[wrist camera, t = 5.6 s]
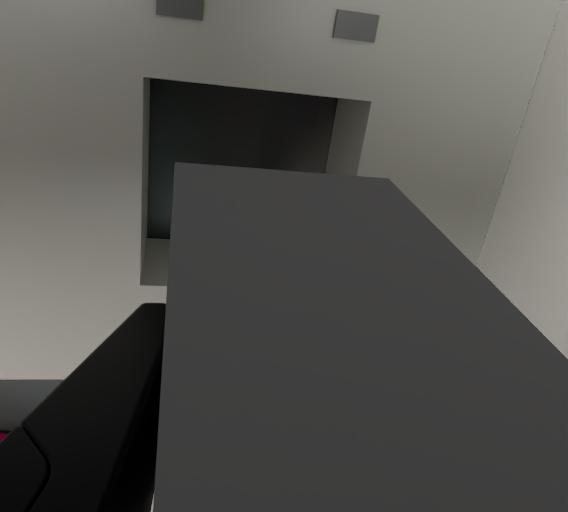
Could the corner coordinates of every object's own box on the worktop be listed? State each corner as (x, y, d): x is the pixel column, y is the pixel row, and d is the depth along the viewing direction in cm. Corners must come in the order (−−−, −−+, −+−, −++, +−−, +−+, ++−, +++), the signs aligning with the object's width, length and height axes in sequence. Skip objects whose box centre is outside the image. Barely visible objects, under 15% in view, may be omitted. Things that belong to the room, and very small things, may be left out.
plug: (350, 349, 12) (620, 968, 5) (166, 347, 11) (128, 1093, 4) (388, 178, 10) (932, 728, 3) (174, 161, 10) (130, 865, 2)
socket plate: (406, 327, 21) (440, 380, 18) (13, 320, 18) (-18, 381, 15) (503, -21, 16) (571, -20, 13) (-34, -109, 13) (-93, -131, 10)
